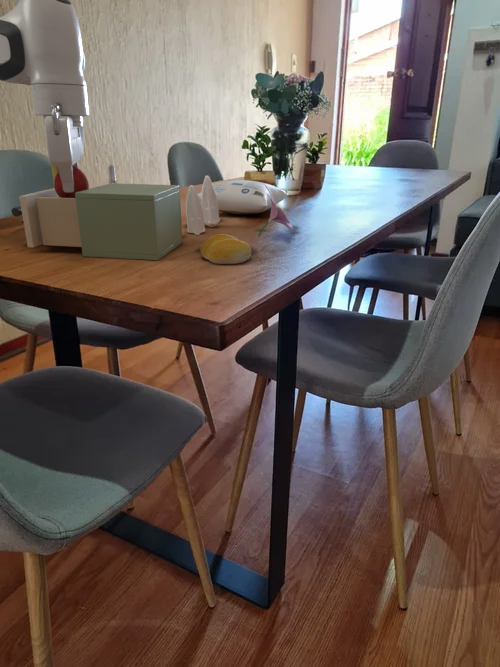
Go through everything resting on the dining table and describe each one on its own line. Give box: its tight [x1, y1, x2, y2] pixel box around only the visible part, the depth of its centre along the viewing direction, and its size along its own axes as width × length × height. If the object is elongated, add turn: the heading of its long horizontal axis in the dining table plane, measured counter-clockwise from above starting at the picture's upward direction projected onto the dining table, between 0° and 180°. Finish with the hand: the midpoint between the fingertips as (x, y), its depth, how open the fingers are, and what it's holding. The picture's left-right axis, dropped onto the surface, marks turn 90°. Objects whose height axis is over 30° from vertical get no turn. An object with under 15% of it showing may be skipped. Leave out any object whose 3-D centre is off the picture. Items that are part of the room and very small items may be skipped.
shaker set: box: [184, 175, 221, 236], centre depth 109 cm, size 12×4×11 cm, turn 156°
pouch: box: [197, 179, 289, 215], centre depth 129 cm, size 8×19×20 cm
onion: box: [53, 165, 90, 198], centre depth 91 cm, size 6×6×8 cm
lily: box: [257, 187, 297, 239], centre depth 103 cm, size 12×12×10 cm
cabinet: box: [75, 182, 183, 261], centre depth 91 cm, size 14×14×11 cm
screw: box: [107, 164, 118, 184], centre depth 112 cm, size 13×5×5 cm
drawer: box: [11, 187, 82, 249], centre depth 94 cm, size 17×13×9 cm
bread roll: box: [199, 233, 252, 265], centre depth 87 cm, size 8×9×4 cm
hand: (71, 189), depth 91 cm, fingers closed on onion, 6 cm apart
